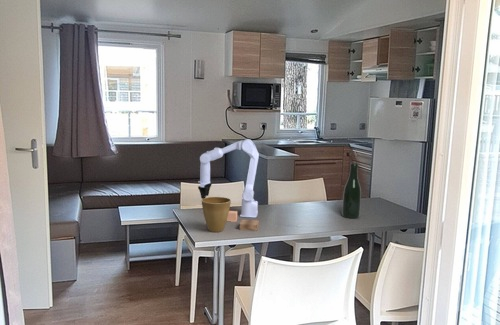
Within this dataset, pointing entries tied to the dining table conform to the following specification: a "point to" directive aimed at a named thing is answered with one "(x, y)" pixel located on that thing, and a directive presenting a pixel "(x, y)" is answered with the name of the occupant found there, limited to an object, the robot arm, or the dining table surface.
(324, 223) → the dining table surface
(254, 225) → the tan square slab
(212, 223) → the plant pot
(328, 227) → the dining table surface
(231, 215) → the terracotta cube
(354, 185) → the green glass bottle
